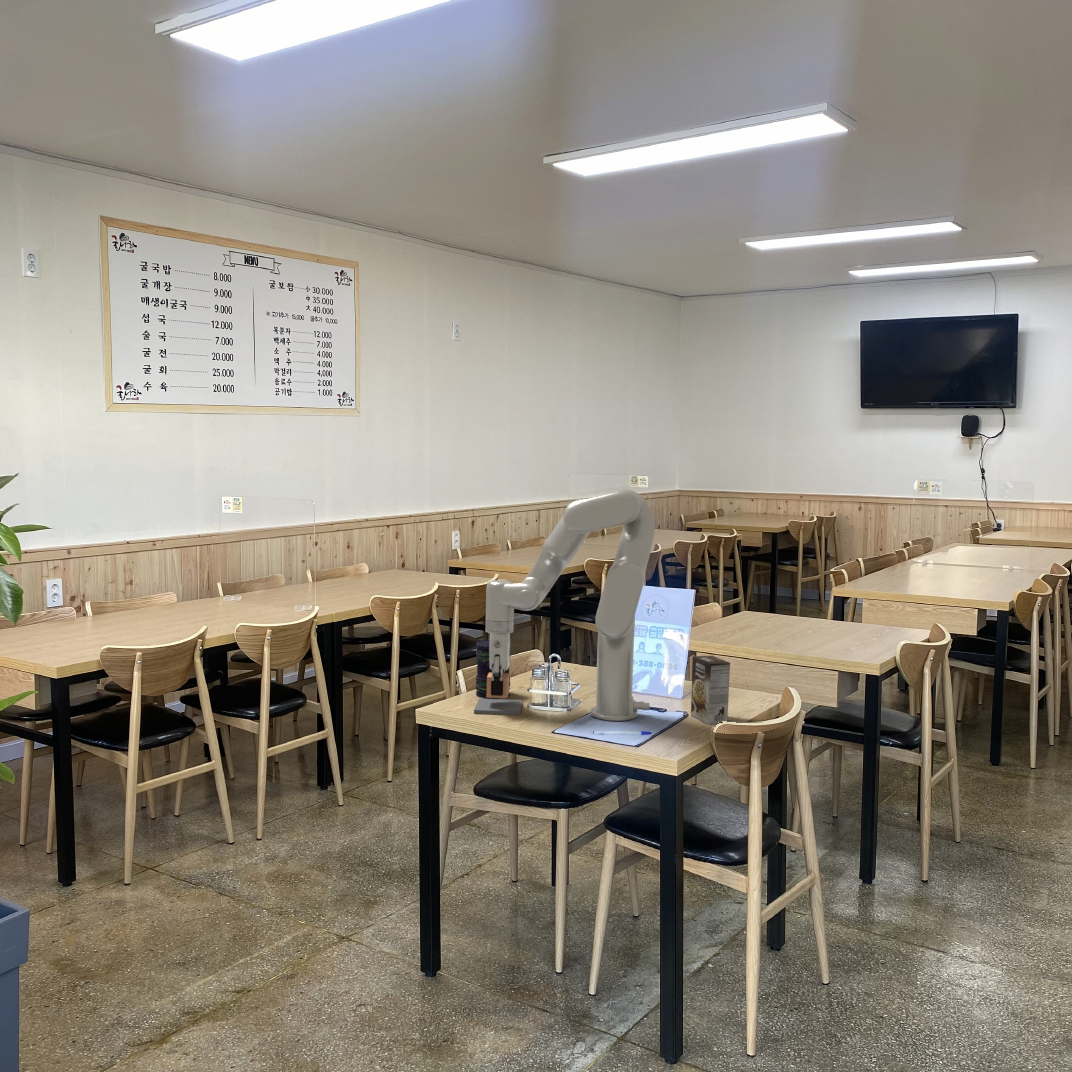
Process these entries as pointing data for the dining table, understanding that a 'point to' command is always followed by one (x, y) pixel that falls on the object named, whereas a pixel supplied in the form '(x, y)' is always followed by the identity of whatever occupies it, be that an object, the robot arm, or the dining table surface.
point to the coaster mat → (498, 706)
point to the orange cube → (505, 686)
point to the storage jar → (484, 669)
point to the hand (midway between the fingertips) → (497, 691)
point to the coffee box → (710, 689)
